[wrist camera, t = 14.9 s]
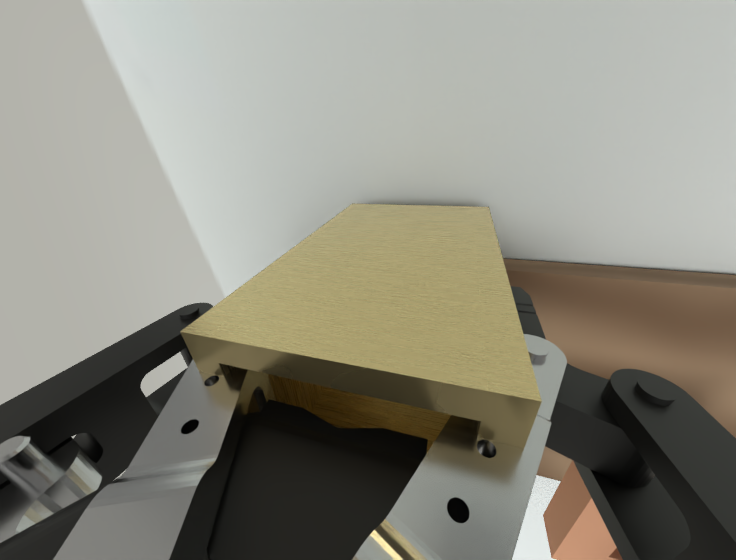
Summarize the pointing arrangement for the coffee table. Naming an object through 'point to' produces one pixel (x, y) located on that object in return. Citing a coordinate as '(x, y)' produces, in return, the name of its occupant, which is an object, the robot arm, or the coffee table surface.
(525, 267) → the post stand
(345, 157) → the coffee table surface
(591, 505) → the orange square ring
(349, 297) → the sleeve
